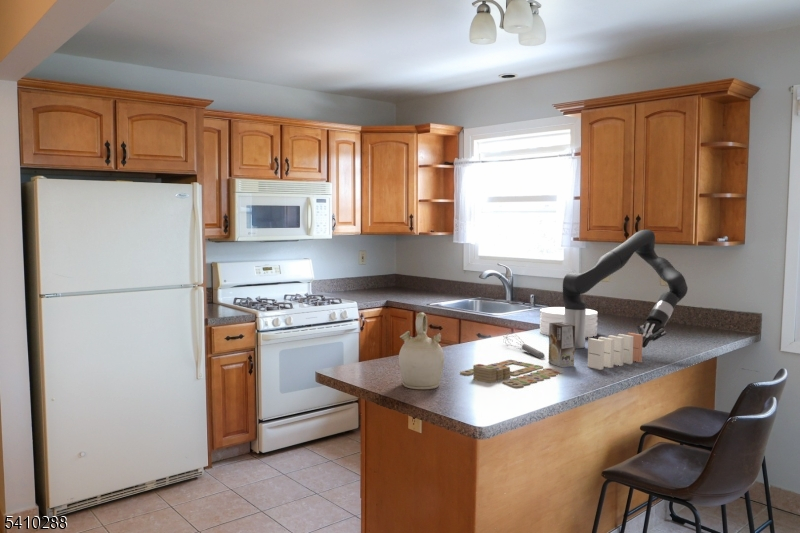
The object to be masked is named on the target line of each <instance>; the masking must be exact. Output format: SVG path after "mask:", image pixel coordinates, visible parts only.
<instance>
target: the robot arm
mask: <svg viewBox="0 0 800 533" xmlns="http://www.w3.org/2000/svg"><path fill="white" fill-rule="evenodd" d="M655 244H656V236H655V232H654V231H653V230H650V229H641V230H638V231H637V232H635V233H634V234H633V235H632V236H630V237H629V238H627V240H625V241H624V242H623V243H621V244H619V245H617V247H615V248H613V249H611V250H609V251H608V252H607V253H605V254H603V255H601V256H600V257H599V258H598V259H597V261H596V262H595V265H594V266H593V267H592V268H591V269H589V270H587V271H585V272H581V273H579V272H569V273H566V275H565V276H564V277H563V279H562V301H563V304H564V307H565V313H564V323H567V324H571V325H575V349H583V348H585V347H586V338H585V322H586V309H587V303H586V302H585V301H584V300H583V299H582V297H581V295H583V294H586V293H588V292H589V291H590V290H592V289H593V288H594V287H595V286H597V285H598V284H599V283H600V282H601V281H603V280H605V279H607V278H608V277H609V276H611V275H613V274H614V273H616V272H618V271H620V270H621V269H622V268H623V267H625V265H627V263H628V262H629V260H630V259H631V258H632V256H633V255H634V253H636V254H637V255H638V256H639V257H640V258H641V259H642V260H644V262H645V263H647V264H648V265H649V266H650V267H652V268H653V270H654V272H656V274H657V275H658V277H659V278H661V280H663V281H665V282H666V283H667V286H668V288H669V291H665V292H663V293H662V294H661V295H660V297H659V299H658V300H657V302H656V303H655V304H654V306H653V307H652V309H651V311H649V314H648V316H647V317H646V321H645V322H644V323H643V324H642V325H639V324H637V326H636V328H637V331H638V332H637V333H638V334H641V335H643V342H642V349H643V348H644V349H645V348H646V347H647V346H648V344H649V342H651V341H653V342H654V341H657V340H658V339H660V338H662V337H663V336H664V337H665V335H667V333H666V330H665V329H664V328H665V326H666V325H667V323H668V321H669V320H670V318H671V316H672V314H673V312H674V309H675V308H676V306H677V304H678V303H679V302H680V301H681V300H683V298H684V297H685V296H686V295H687V293H688V285H687V281H686V278H685V276H684V275H683V274H682V273H681V272H680V271H679V270H677V269H676V268H675V267H674V266H673V264H672V263H671V262H670V261H669V260H668V259H666V258H664V257H661V256H658V255H657V253H656V251H655V247H656V246H655Z"/></svg>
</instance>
